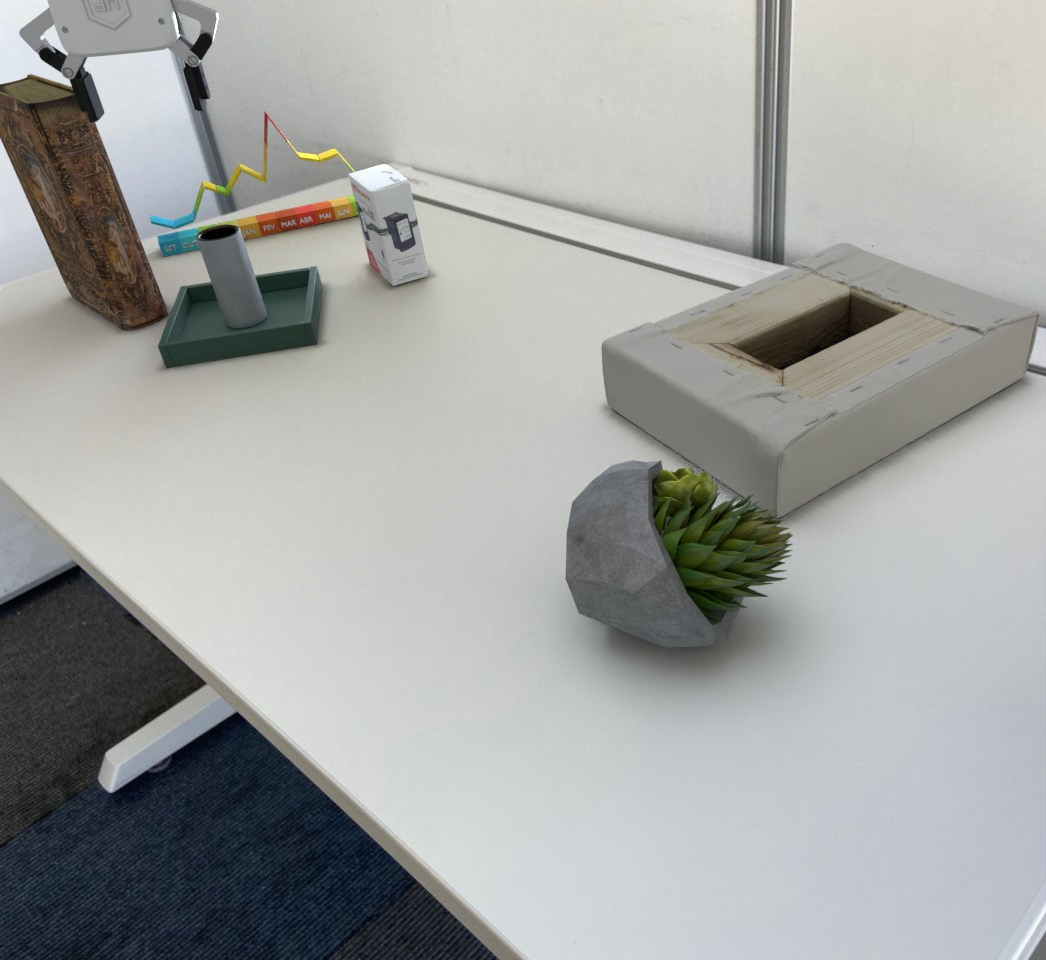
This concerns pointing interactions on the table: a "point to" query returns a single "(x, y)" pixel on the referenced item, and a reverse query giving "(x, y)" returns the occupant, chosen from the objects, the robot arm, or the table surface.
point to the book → (78, 202)
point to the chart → (258, 223)
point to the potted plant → (667, 554)
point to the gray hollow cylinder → (232, 275)
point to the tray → (207, 337)
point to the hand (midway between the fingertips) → (150, 113)
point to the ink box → (389, 223)
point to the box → (815, 371)
